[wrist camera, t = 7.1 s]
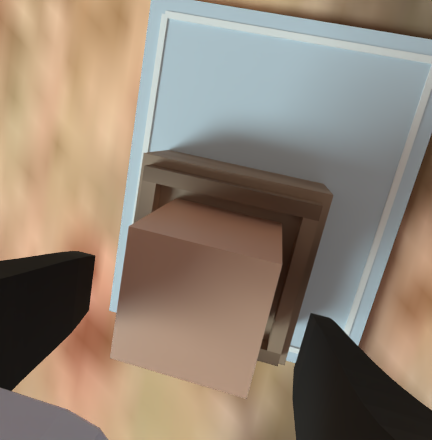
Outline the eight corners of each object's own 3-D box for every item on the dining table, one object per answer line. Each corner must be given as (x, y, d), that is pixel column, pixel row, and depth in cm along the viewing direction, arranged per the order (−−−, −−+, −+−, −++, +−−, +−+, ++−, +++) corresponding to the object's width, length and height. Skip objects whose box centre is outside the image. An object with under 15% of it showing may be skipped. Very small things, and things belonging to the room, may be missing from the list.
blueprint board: (344, 366, 21) (347, 378, 20) (116, 302, 22) (108, 311, 21) (451, 50, 16) (463, 44, 15) (158, 1, 18) (151, -8, 17)
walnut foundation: (283, 326, 20) (284, 376, 16) (145, 288, 21) (111, 327, 17) (323, 183, 18) (336, 198, 14) (168, 149, 19) (136, 153, 14)
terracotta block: (257, 320, 16) (246, 399, 11) (159, 293, 17) (110, 357, 12) (282, 223, 15) (282, 264, 10) (176, 198, 15) (128, 226, 11)
